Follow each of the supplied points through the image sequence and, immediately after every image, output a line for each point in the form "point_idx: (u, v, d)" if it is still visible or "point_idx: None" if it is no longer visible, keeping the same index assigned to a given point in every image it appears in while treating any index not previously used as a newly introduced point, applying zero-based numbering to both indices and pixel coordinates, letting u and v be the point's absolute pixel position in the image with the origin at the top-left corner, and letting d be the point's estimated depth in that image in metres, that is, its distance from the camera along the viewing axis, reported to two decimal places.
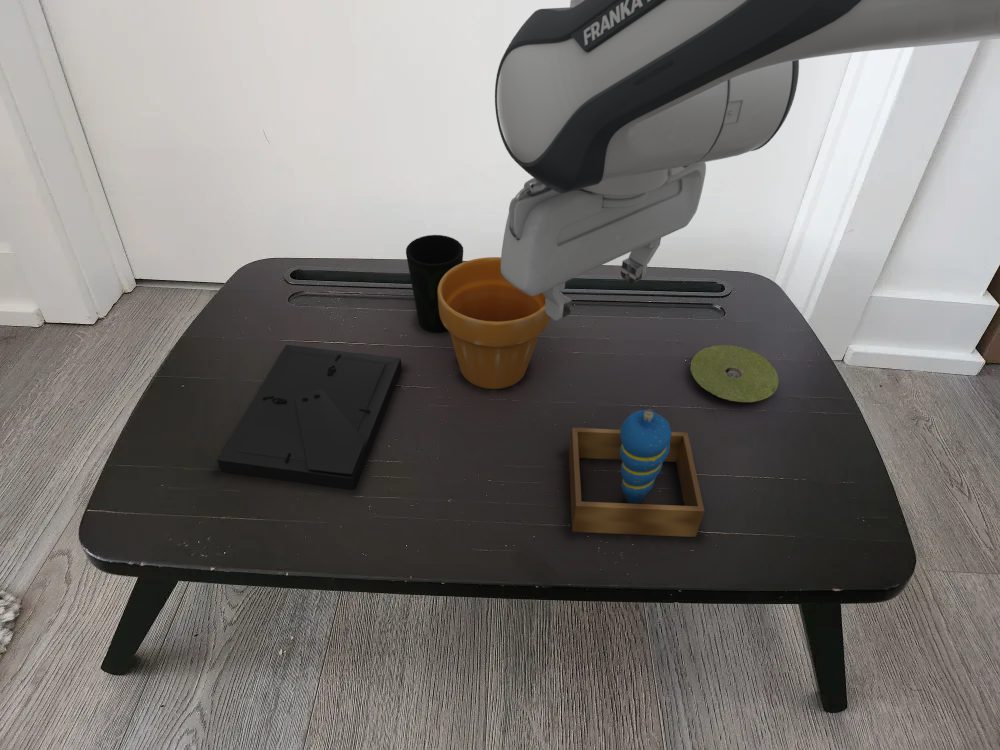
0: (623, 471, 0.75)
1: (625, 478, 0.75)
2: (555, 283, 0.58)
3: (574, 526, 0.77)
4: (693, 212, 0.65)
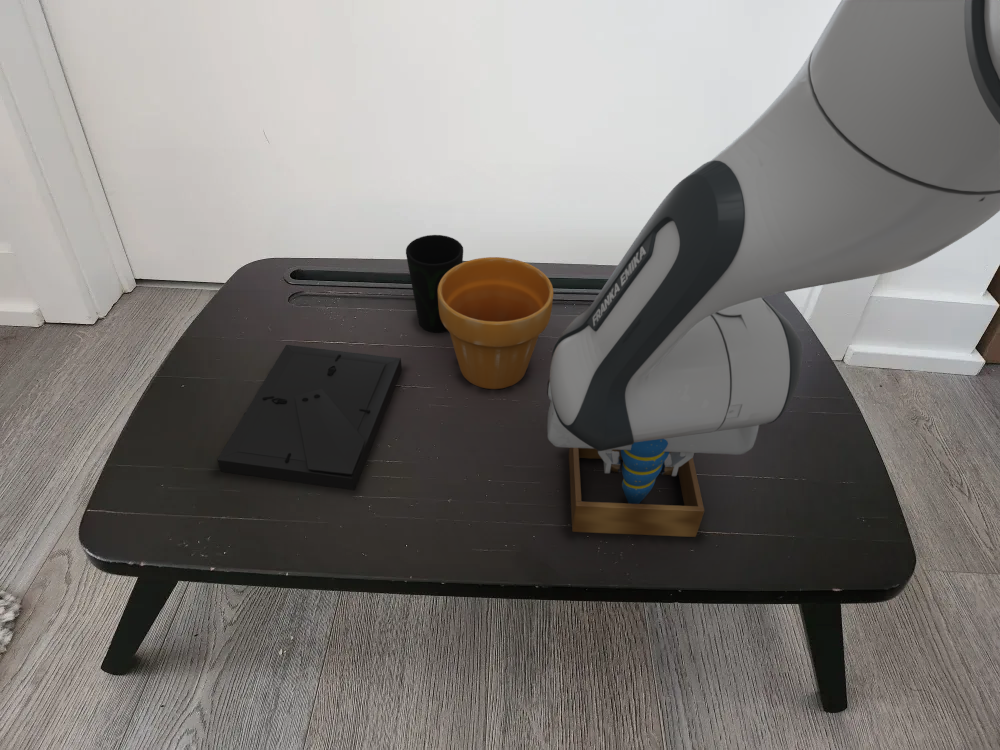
0: (624, 471, 0.75)
1: (626, 478, 0.75)
2: (578, 446, 0.71)
3: (574, 526, 0.77)
4: (746, 447, 0.70)
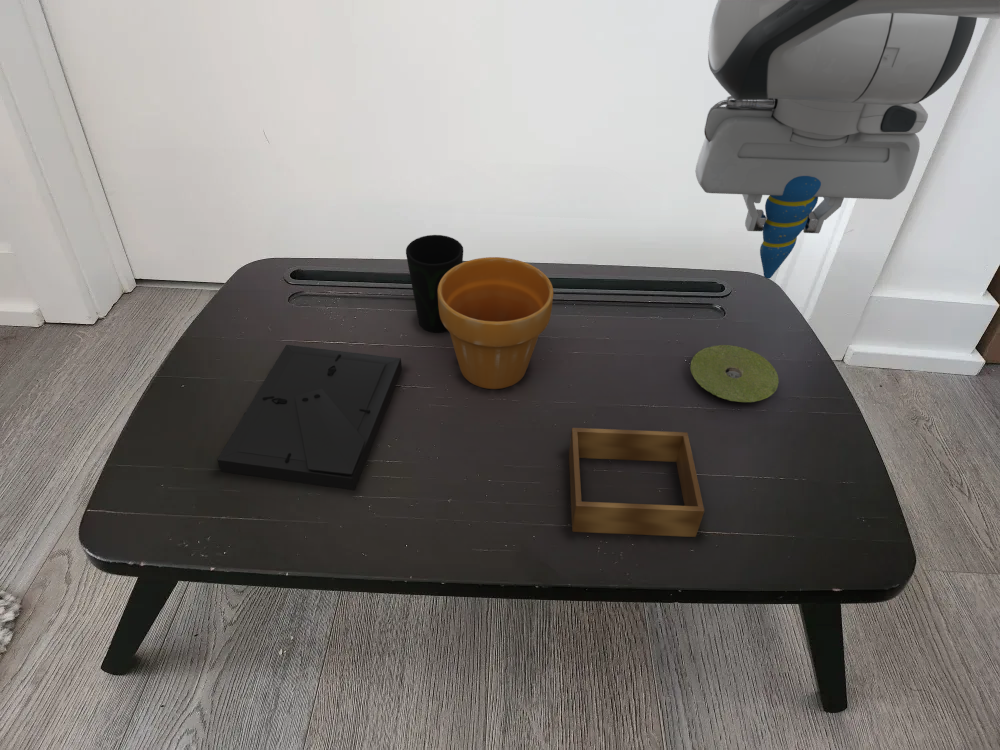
0: (767, 228, 0.76)
1: (769, 235, 0.76)
2: (730, 190, 0.72)
3: (574, 526, 0.77)
4: (900, 187, 0.71)
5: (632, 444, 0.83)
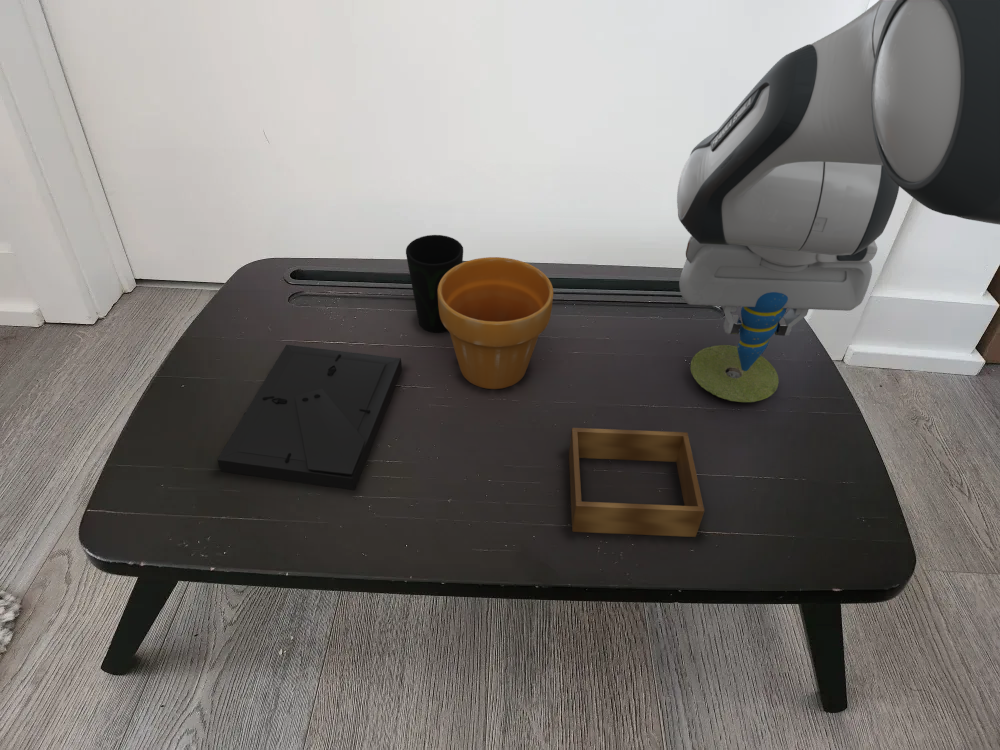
0: (743, 331, 0.86)
1: (744, 337, 0.86)
2: (709, 303, 0.82)
3: (574, 526, 0.77)
4: (857, 301, 0.81)
5: (632, 444, 0.83)
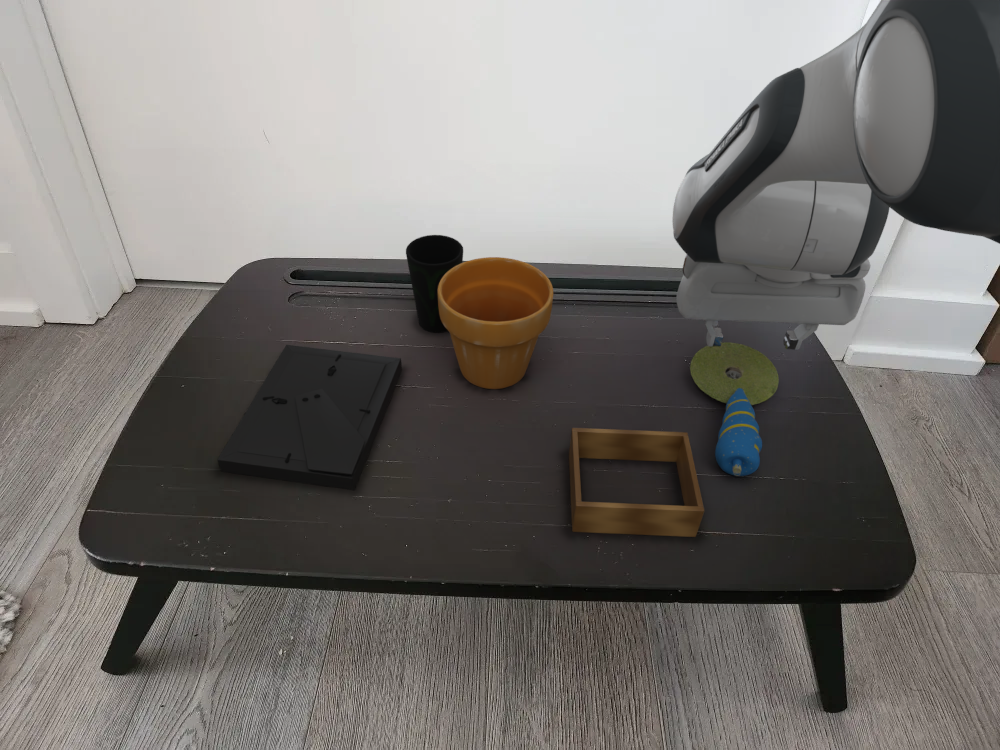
0: None
1: None
2: (705, 317, 0.83)
3: (574, 526, 0.77)
4: (850, 316, 0.82)
5: (632, 444, 0.83)
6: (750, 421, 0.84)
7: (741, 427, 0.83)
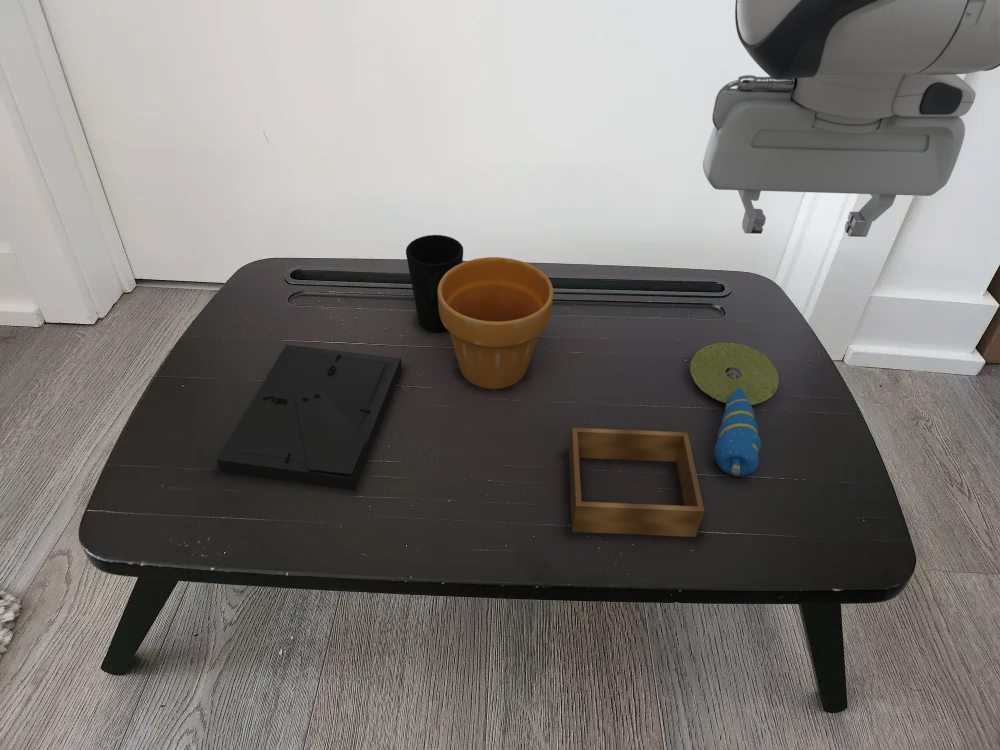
0: None
1: None
2: (743, 186, 0.62)
3: (574, 526, 0.77)
4: (941, 181, 0.61)
5: (632, 444, 0.83)
6: (748, 421, 0.84)
7: (739, 426, 0.83)
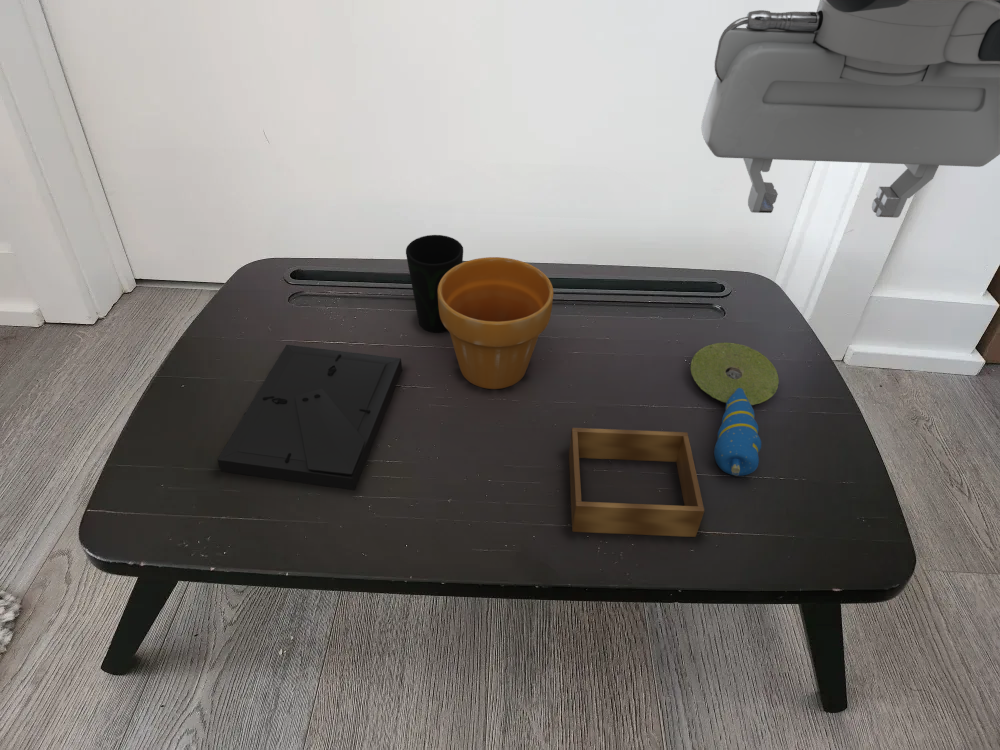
0: None
1: None
2: (751, 153, 0.50)
3: (574, 526, 0.77)
4: (996, 148, 0.49)
5: (632, 444, 0.83)
6: (748, 421, 0.84)
7: (739, 426, 0.83)
